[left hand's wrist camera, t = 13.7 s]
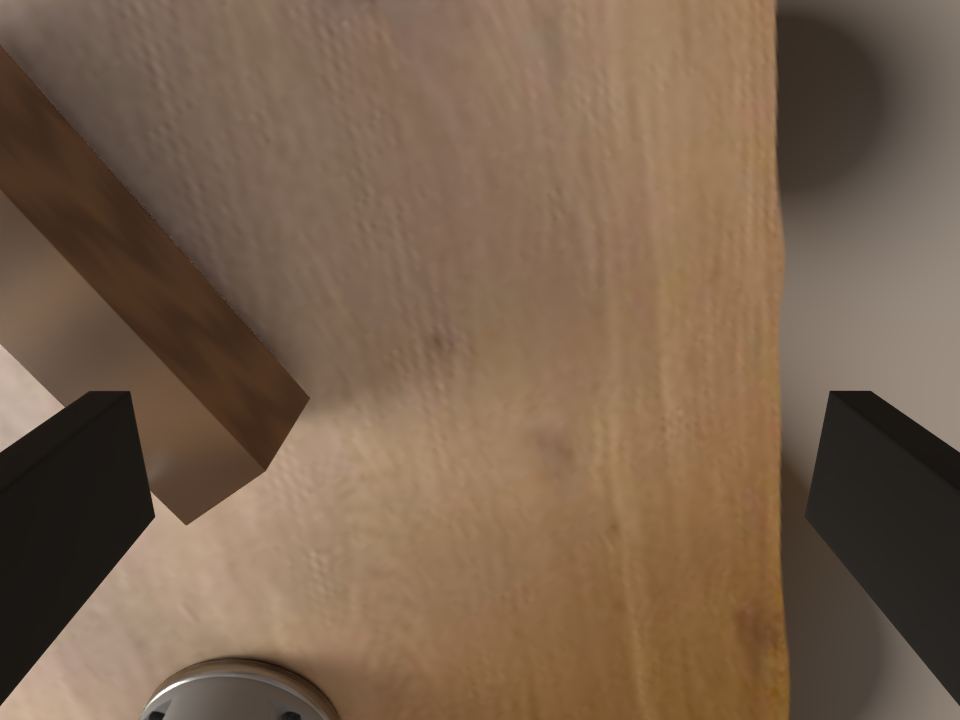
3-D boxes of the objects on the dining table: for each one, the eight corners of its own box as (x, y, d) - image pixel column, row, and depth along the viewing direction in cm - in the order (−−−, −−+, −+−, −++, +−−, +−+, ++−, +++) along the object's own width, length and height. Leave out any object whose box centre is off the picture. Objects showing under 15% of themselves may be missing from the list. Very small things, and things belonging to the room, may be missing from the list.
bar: (310, 398, 39) (266, 470, 31) (245, 444, 40) (185, 526, 32) (-44, -6, 32) (-223, -48, 24) (-112, 64, 33) (-306, 46, 25)
